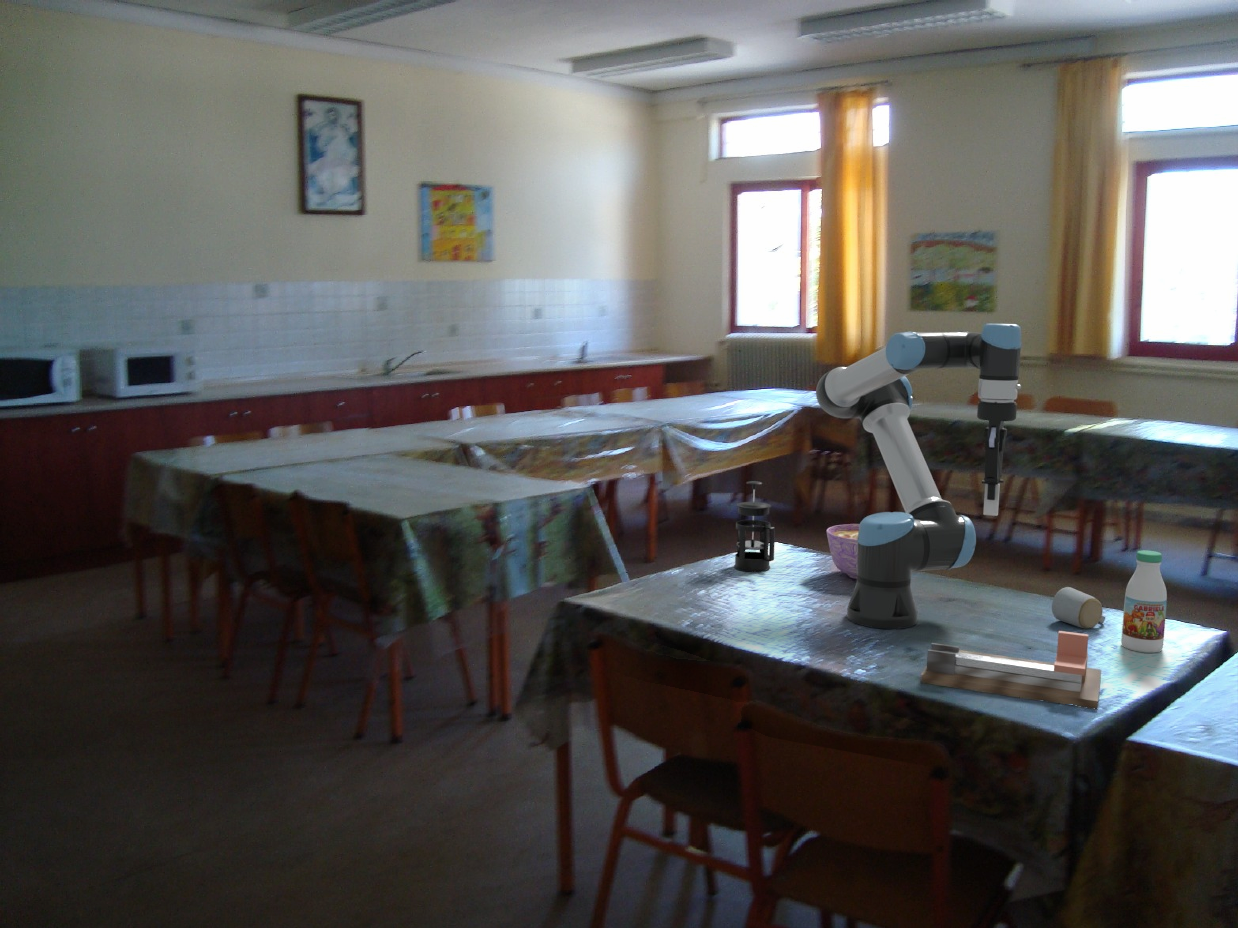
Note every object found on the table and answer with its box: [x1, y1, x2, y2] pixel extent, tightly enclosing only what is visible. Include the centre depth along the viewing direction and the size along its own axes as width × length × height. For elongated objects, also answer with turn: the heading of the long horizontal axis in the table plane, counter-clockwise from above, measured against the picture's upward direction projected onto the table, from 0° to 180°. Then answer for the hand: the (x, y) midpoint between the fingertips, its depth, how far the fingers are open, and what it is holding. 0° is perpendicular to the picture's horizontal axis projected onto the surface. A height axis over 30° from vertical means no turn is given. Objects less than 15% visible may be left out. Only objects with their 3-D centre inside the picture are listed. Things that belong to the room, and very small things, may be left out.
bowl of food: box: [826, 523, 860, 580], centre depth 277 cm, size 20×20×12 cm
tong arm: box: [944, 650, 1082, 683], centre depth 198 cm, size 24×3×2 cm, turn 65°
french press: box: [733, 480, 776, 573], centre depth 283 cm, size 12×9×23 cm
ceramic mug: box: [1051, 586, 1106, 630], centre depth 237 cm, size 11×8×8 cm
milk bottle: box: [1120, 549, 1168, 654], centre depth 220 cm, size 8×8×20 cm
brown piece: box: [920, 642, 1102, 710], centre depth 202 cm, size 30×18×6 cm, turn 65°
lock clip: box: [1054, 630, 1089, 675], centre depth 195 cm, size 5×8×5 cm, turn 155°
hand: (990, 514), depth 223 cm, fingers closed
